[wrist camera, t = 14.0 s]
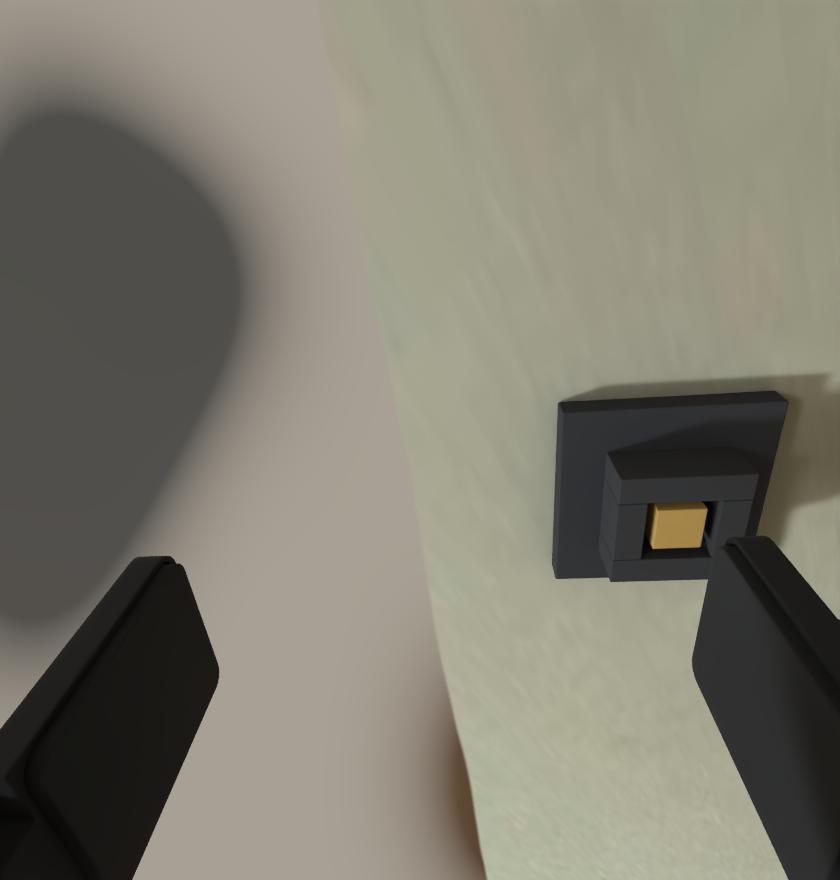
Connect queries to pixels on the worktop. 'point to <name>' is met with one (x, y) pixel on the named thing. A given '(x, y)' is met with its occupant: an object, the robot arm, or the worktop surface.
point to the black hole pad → (664, 481)
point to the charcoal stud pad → (648, 429)
